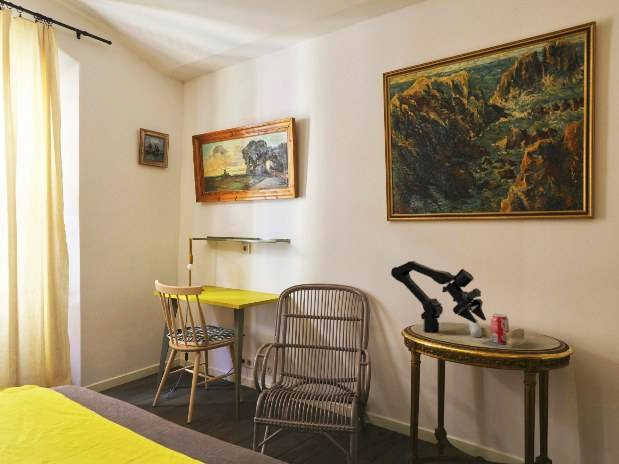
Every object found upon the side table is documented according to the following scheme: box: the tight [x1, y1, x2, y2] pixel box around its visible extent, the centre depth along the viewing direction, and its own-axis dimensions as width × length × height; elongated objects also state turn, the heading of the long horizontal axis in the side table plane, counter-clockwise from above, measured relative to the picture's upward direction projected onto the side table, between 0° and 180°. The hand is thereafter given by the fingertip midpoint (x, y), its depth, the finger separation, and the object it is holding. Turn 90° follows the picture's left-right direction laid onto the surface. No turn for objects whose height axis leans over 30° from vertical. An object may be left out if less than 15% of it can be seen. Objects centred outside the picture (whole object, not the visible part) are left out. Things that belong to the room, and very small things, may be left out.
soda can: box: [490, 313, 510, 344], centre depth 188 cm, size 7×7×12 cm
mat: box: [482, 338, 507, 348], centre depth 189 cm, size 10×10×1 cm
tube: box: [467, 318, 483, 338], centre depth 211 cm, size 5×5×25 cm
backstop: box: [506, 328, 525, 349], centre depth 186 cm, size 2×14×6 cm, turn 134°
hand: (480, 321), depth 194 cm, fingers open, 9 cm apart
